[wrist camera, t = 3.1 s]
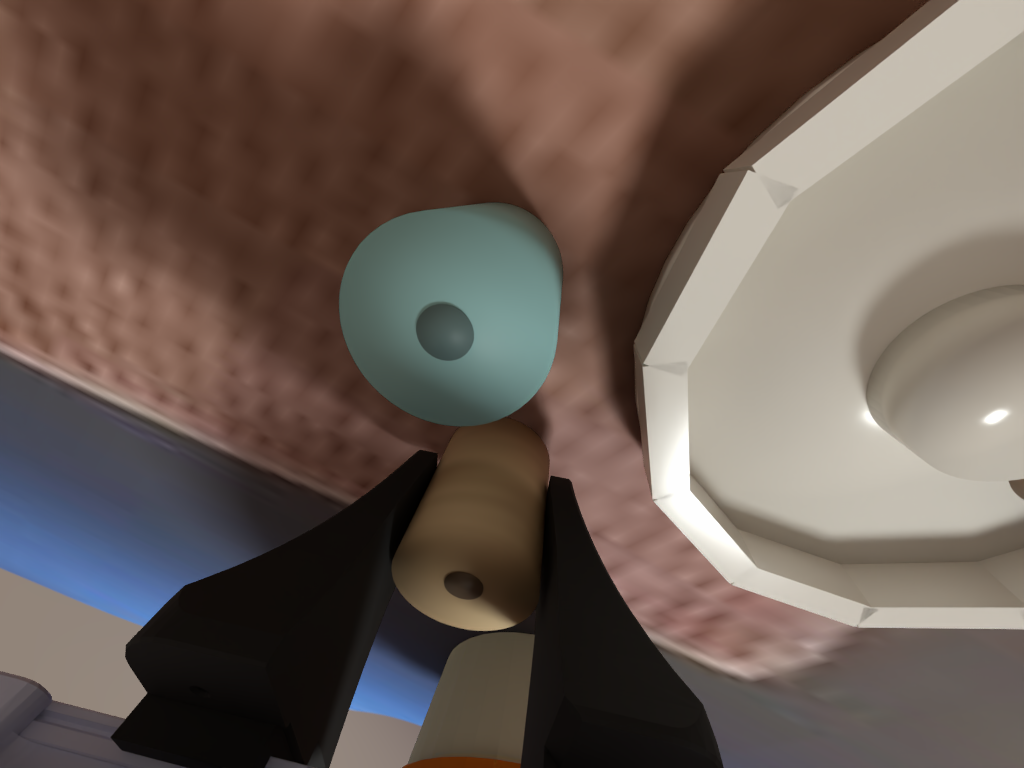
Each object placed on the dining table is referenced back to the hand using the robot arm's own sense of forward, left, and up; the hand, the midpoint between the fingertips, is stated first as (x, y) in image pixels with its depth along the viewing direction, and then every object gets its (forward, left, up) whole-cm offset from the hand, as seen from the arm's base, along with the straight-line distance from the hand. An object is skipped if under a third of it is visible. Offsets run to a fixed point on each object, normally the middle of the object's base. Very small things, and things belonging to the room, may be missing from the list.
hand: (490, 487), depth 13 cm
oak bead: (0, 0, -1) cm, 1 cm away
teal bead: (+6, -2, -2) cm, 7 cm away
